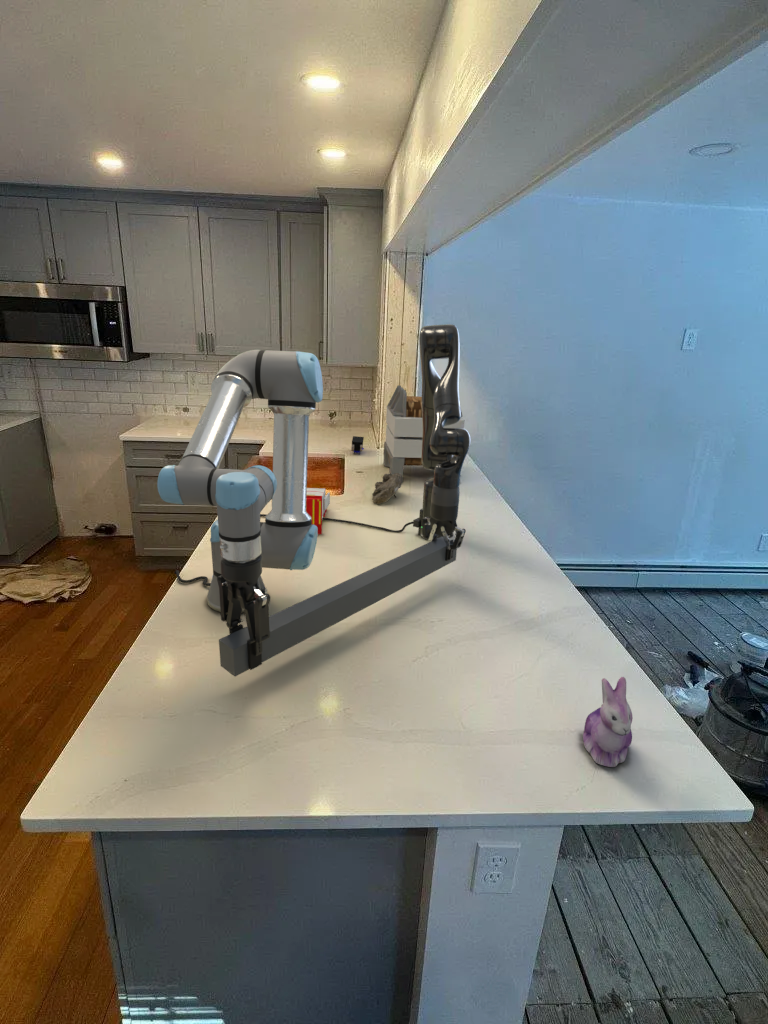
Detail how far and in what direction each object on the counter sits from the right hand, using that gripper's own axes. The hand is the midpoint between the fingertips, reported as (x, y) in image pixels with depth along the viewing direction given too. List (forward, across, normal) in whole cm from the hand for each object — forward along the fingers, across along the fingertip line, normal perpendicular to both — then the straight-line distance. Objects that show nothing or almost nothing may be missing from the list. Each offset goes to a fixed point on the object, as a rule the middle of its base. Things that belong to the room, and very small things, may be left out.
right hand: (440, 556), depth 160 cm
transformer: (+11, -76, +90) cm, 119 cm away
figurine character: (+11, -124, +98) cm, 158 cm away
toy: (+10, -64, +9) cm, 65 cm away
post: (+2, 0, -33) cm, 33 cm away
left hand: (+1, -1, -66) cm, 66 cm away
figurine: (+8, +61, -32) cm, 69 cm away
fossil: (+10, -62, +50) cm, 81 cm away
